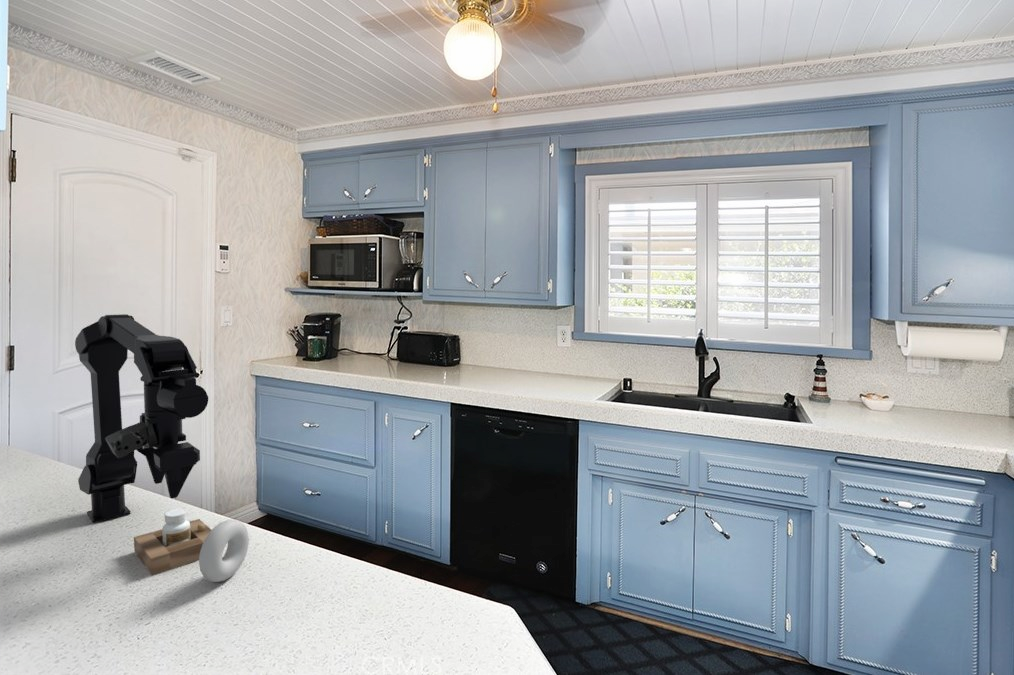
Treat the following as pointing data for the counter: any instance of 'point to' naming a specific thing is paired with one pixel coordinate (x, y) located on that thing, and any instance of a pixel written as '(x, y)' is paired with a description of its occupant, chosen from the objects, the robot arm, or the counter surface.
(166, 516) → the pill bottle
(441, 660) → the counter surface
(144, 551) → the socket block
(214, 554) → the donut
